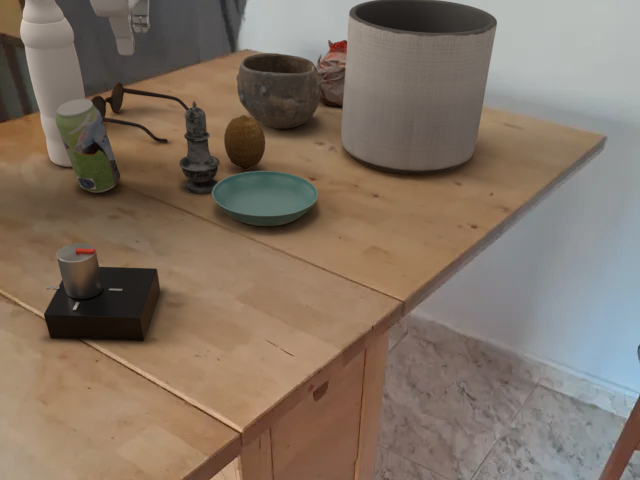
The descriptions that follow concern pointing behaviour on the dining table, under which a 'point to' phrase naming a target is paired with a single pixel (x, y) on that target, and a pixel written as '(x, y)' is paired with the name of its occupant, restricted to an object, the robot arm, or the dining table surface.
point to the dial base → (107, 307)
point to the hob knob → (80, 270)
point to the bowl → (279, 89)
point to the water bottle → (51, 67)
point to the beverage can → (87, 145)
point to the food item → (333, 73)
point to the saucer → (265, 197)
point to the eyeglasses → (116, 104)
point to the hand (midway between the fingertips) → (135, 42)
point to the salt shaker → (198, 154)
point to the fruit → (244, 142)
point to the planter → (415, 83)
